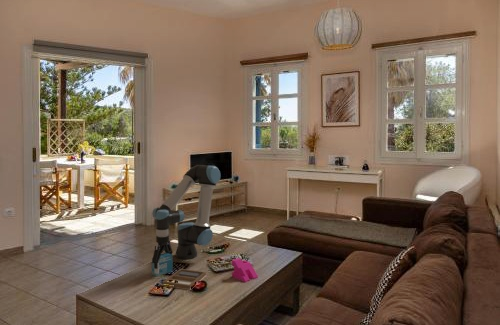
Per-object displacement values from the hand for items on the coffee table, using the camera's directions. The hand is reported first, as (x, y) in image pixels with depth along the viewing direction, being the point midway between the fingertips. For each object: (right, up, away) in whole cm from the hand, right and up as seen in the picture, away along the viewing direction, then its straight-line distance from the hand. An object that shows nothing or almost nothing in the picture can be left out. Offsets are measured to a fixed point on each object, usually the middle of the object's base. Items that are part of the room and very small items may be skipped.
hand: (162, 269), depth 233 cm
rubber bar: (+17, -3, -6) cm, 18 cm away
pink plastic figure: (+50, -4, -3) cm, 51 cm away
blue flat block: (0, -3, 0) cm, 3 cm away
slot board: (+16, -4, -11) cm, 19 cm away
